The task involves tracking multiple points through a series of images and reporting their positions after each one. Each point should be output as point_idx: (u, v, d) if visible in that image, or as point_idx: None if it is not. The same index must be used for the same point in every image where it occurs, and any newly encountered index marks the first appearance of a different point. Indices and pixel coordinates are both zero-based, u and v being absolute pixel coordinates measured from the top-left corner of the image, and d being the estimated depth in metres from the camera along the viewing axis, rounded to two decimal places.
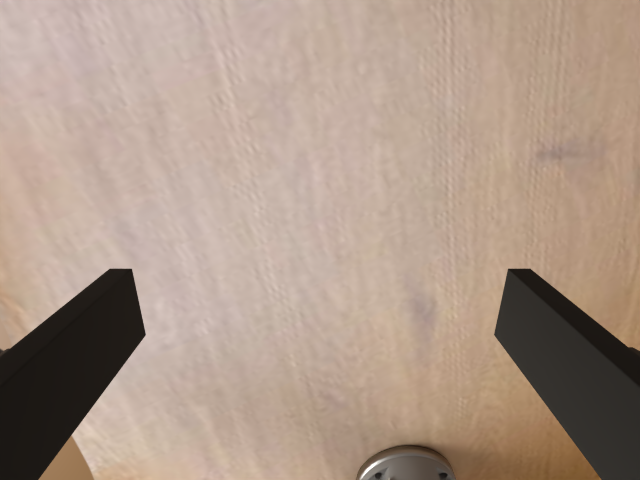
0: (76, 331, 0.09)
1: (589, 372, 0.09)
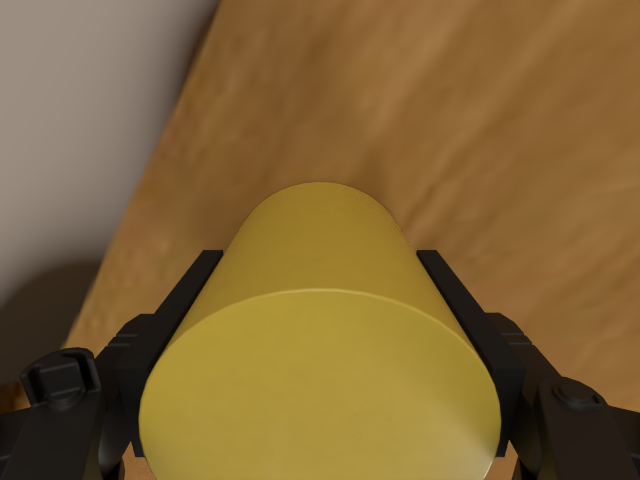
0: None
1: None
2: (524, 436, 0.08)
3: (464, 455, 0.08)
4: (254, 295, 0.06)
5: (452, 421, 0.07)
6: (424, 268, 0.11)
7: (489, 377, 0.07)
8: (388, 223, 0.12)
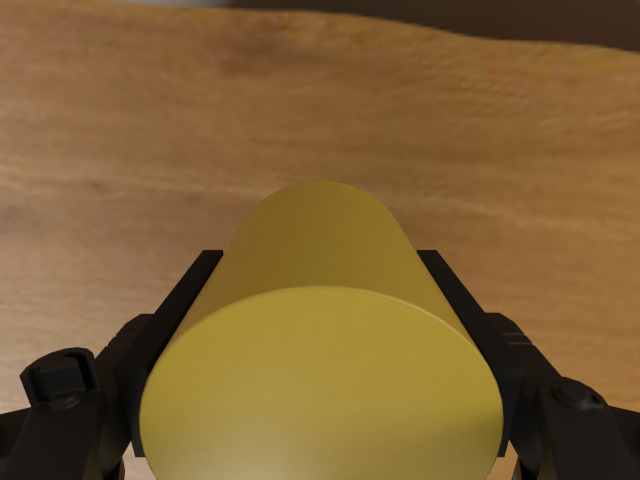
0: None
1: None
2: (524, 436, 0.08)
3: (466, 453, 0.07)
4: (255, 292, 0.06)
5: (454, 420, 0.07)
6: (425, 267, 0.11)
7: (492, 376, 0.07)
8: (389, 222, 0.12)
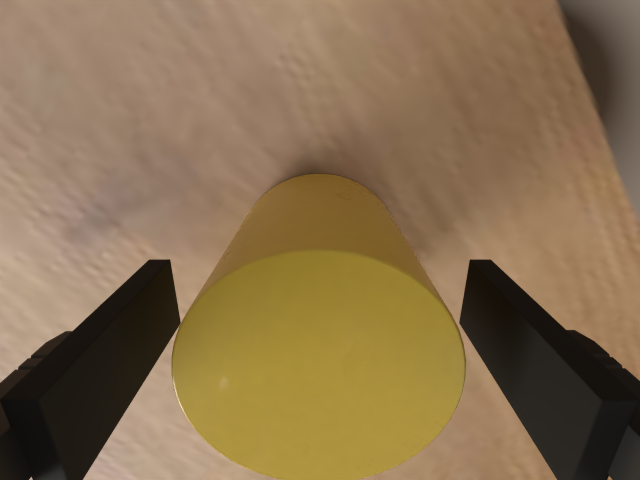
0: (129, 315, 0.10)
1: (529, 351, 0.09)
2: (633, 470, 0.07)
3: (436, 390, 0.09)
4: (266, 254, 0.08)
5: (425, 361, 0.09)
6: None
7: (454, 323, 0.08)
8: (378, 208, 0.13)
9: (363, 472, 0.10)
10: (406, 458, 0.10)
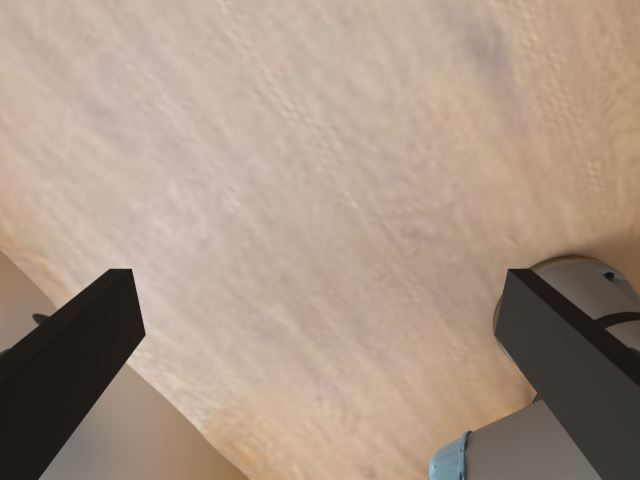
0: (76, 331, 0.09)
1: (589, 372, 0.09)
2: None
3: None
4: None
5: None
6: None
7: None
8: None
9: None
10: None
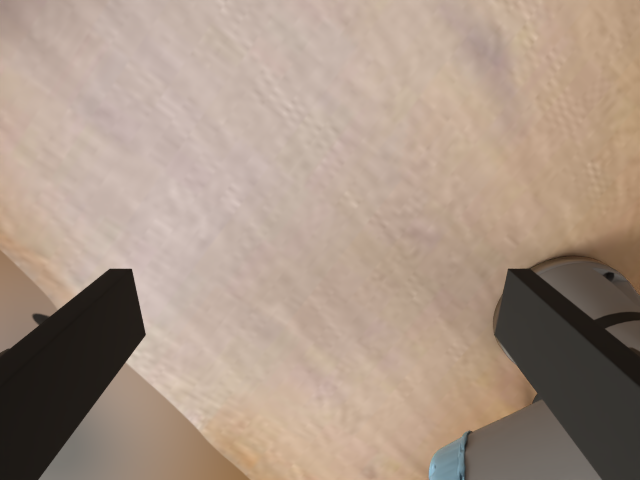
0: (76, 331, 0.09)
1: (589, 372, 0.09)
2: None
3: None
4: None
5: None
6: None
7: None
8: None
9: None
10: None
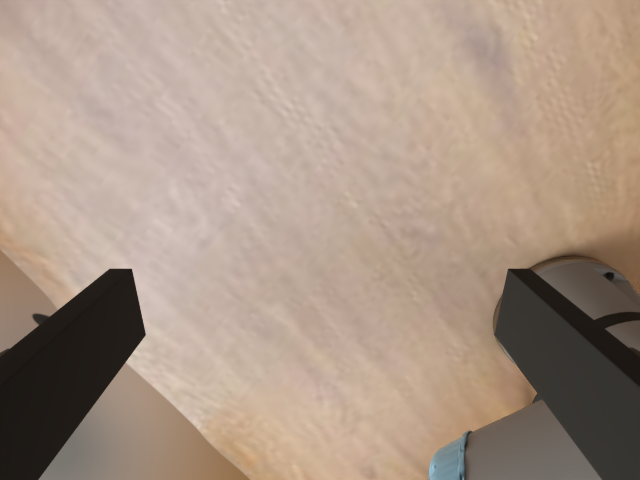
0: (76, 331, 0.09)
1: (589, 372, 0.09)
2: None
3: None
4: None
5: None
6: None
7: None
8: None
9: None
10: None
